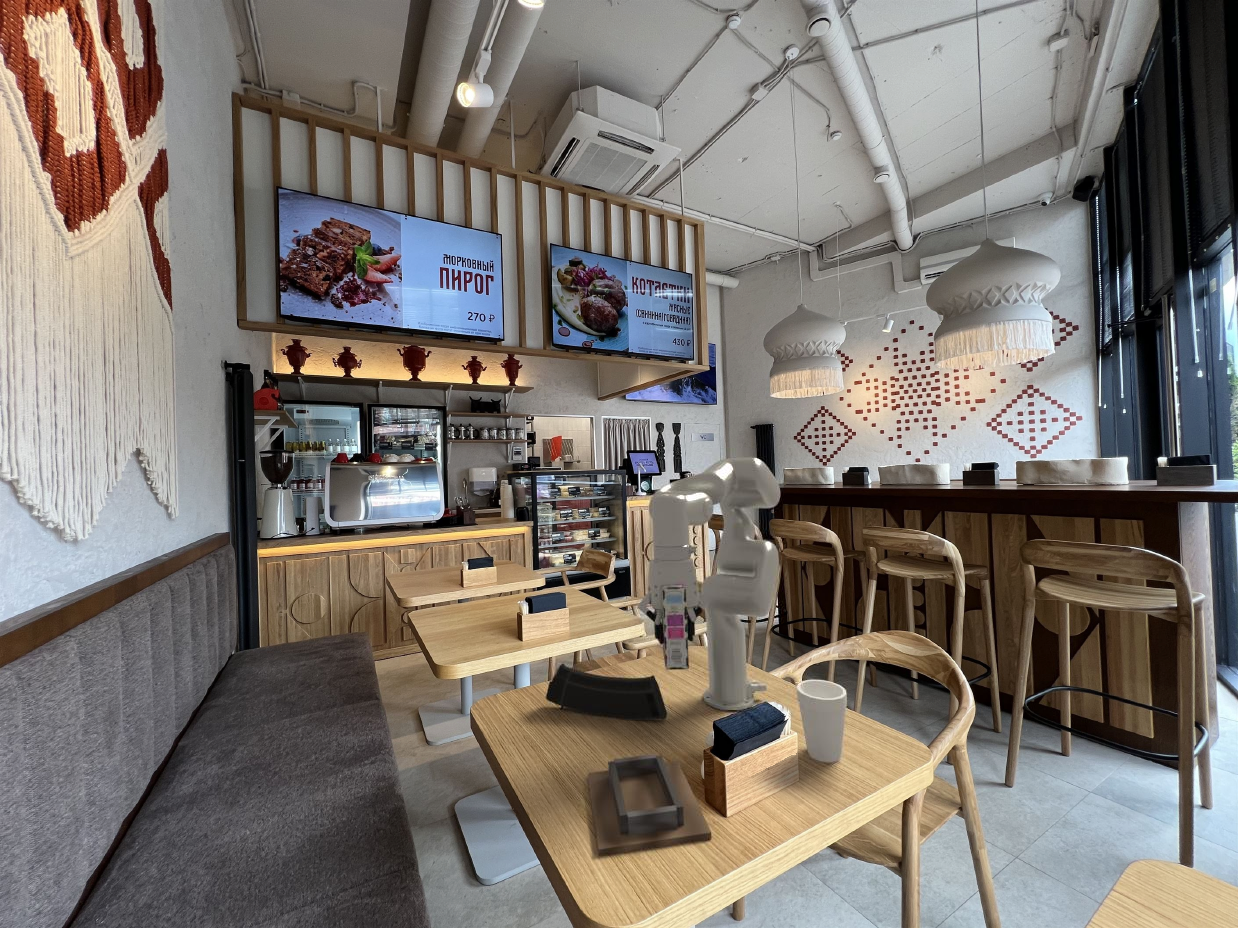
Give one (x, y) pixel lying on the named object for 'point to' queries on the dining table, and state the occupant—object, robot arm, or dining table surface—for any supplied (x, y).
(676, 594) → the candy bar box
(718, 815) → the dining table surface
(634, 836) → the end cap board
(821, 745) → the foam cup
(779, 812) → the dining table surface
